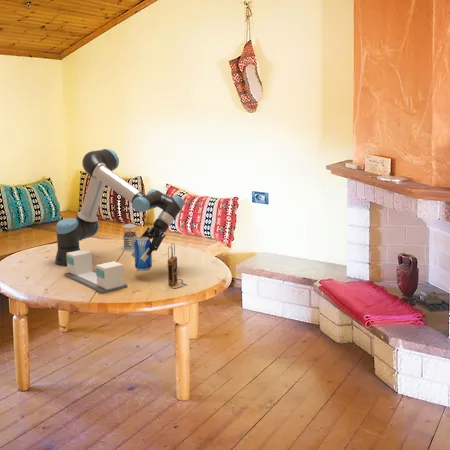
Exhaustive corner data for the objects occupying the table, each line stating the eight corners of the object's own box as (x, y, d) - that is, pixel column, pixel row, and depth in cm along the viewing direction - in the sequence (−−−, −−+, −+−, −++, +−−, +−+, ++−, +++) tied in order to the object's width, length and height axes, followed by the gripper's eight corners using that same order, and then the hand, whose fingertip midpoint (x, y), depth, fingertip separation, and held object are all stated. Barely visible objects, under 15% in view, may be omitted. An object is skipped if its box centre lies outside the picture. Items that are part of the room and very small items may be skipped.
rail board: (64, 275, 333) (62, 253, 331) (88, 270, 342) (87, 248, 340) (102, 293, 305) (101, 269, 303) (127, 287, 314) (126, 263, 312)
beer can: (136, 266, 332) (135, 236, 328) (152, 266, 332) (151, 236, 328) (134, 271, 324) (133, 240, 320) (151, 271, 324) (150, 240, 320)
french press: (130, 246, 390) (128, 205, 385) (144, 248, 384) (143, 207, 378) (118, 249, 382) (116, 208, 377) (133, 252, 376) (131, 210, 370)
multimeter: (186, 289, 310) (185, 249, 305) (166, 288, 312) (164, 248, 307) (193, 280, 324) (192, 241, 319) (174, 279, 326) (173, 240, 321)
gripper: (179, 230, 325) (154, 266, 319) (155, 222, 341) (130, 257, 334) (171, 221, 321) (144, 258, 314) (147, 214, 336) (121, 249, 330)
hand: (137, 258), depth 324 cm, fingers closed on beer can, 8 cm apart
